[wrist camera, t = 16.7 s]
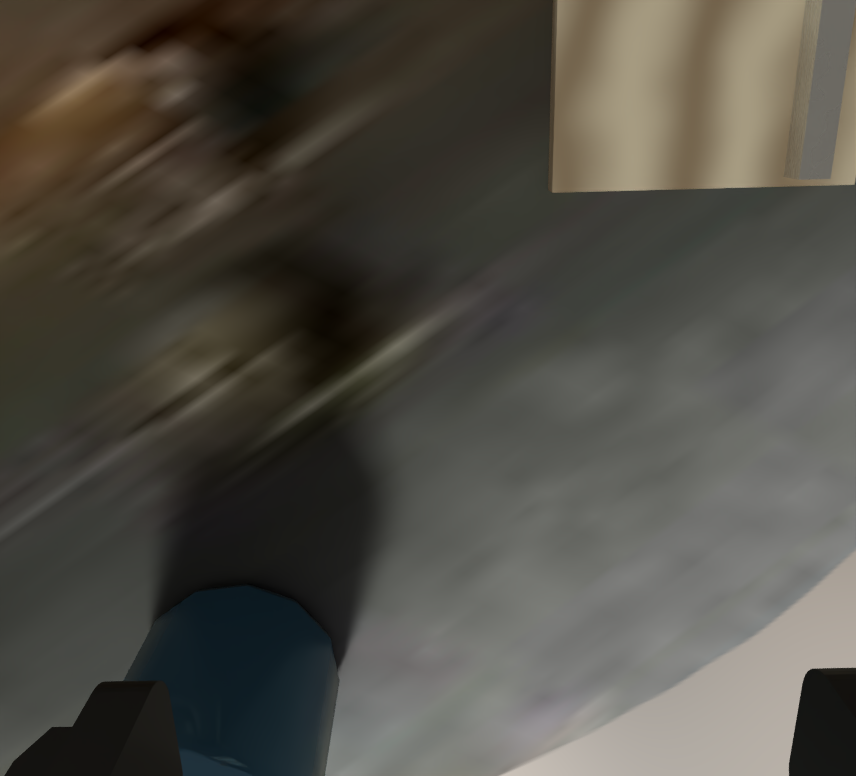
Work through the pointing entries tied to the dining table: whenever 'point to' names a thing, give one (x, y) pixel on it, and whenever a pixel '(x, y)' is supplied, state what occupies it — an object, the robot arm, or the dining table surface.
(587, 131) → the board
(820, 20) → the rail
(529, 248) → the dining table surface
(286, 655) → the wine bottle
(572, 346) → the dining table surface
